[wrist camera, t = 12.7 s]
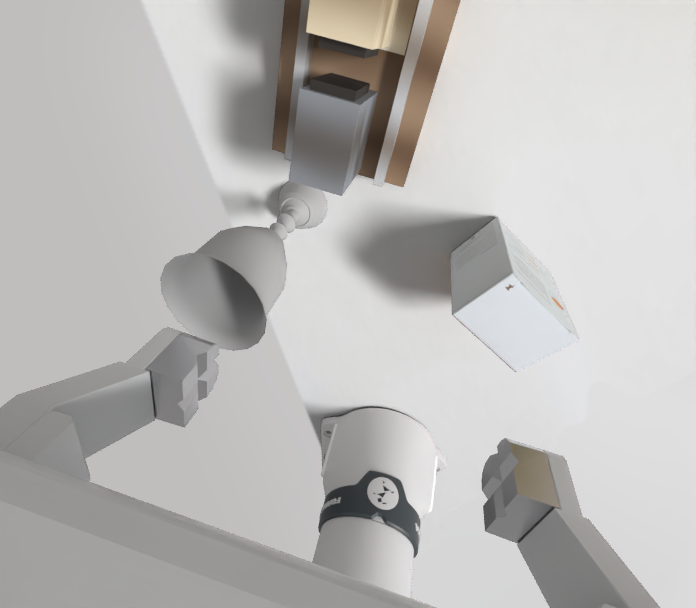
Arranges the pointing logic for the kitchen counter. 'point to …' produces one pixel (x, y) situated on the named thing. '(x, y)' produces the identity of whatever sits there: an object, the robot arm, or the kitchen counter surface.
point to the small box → (508, 298)
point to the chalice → (238, 274)
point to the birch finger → (352, 25)
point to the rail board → (357, 98)
